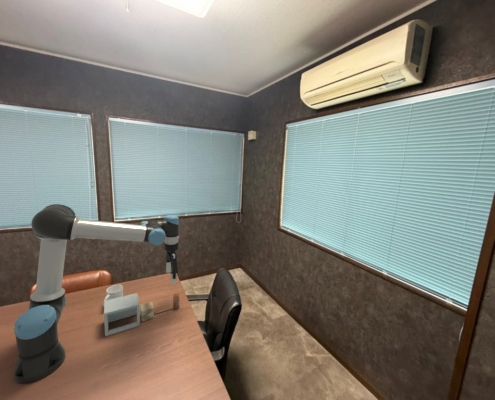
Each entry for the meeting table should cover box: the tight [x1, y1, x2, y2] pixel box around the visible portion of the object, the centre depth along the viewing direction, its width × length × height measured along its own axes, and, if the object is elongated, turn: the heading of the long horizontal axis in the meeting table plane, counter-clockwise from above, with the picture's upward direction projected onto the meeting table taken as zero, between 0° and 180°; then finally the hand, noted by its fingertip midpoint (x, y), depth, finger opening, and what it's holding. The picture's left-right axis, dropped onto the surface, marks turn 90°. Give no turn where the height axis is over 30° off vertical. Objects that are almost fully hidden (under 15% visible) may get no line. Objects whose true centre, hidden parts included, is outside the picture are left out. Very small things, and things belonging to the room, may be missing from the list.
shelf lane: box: [103, 292, 141, 337], centre depth 112 cm, size 15×11×12 cm
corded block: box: [139, 293, 180, 322], centre depth 122 cm, size 20×6×8 cm, turn 121°
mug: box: [103, 284, 124, 307], centre depth 125 cm, size 12×8×10 cm
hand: (171, 277), depth 124 cm, fingers open, 13 cm apart
